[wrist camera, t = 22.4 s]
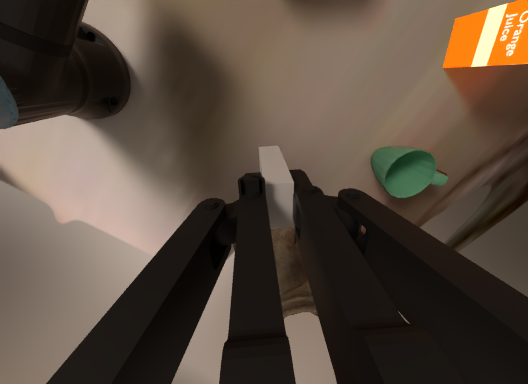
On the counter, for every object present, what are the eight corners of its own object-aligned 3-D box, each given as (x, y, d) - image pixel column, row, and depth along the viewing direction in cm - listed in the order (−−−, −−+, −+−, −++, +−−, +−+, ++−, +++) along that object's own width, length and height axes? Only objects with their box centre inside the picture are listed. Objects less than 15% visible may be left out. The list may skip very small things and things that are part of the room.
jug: (229, 233, 57) (212, 370, 30) (241, 156, 47) (230, 257, 20) (308, 242, 60) (354, 373, 33) (333, 171, 50) (429, 276, 23)
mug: (353, 173, 50) (375, 194, 42) (371, 132, 46) (399, 145, 37) (408, 183, 53) (440, 205, 44) (430, 144, 48) (470, 159, 39)
